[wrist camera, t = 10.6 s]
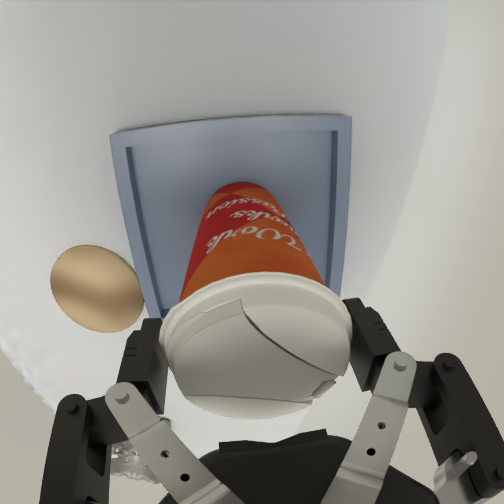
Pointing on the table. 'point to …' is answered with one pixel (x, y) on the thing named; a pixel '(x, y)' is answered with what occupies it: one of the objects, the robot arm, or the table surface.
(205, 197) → the tray
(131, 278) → the cork coaster
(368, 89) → the table surface
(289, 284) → the paper cup
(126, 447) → the elephant statuette
